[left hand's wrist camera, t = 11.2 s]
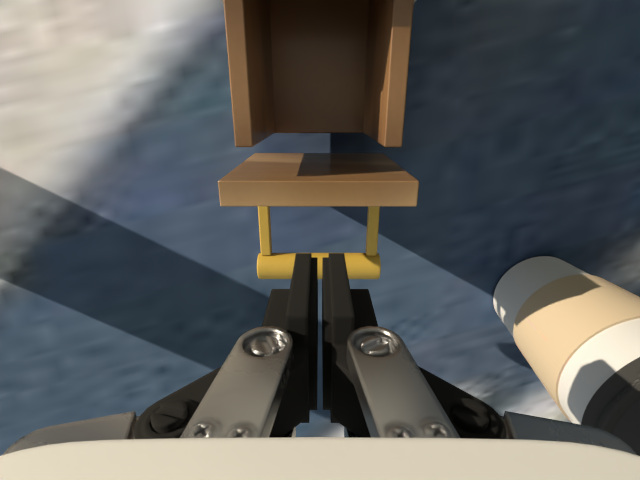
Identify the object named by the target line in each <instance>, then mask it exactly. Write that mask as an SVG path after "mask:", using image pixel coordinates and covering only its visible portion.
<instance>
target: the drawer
mask: <svg viewBox="0 0 640 480" xmlns="http://www.w3.org/2000/svg"><path fill="white" fill-rule="evenodd" d="M223 2H224V14H225V26H226V38H227V51H228V63H229V75H230V87H231V100H232V112H233V124H234V136H235V146H236V147H253V146H254V145H256V144H258V143H259V142H261V141H262V140H264V139H265V138H267V137H269V136H270V135H272V134H273V133H364V134H366V135H367V136H369V137H370V138H372V139H374V140H375V141H377V142H378V143H380V144H381V145H383V146H384V147H402V140H403V128H404V116H405V103H406V91H407V79H408V67H409V54H410V42H411V30H412V17H413V5H414V0H223ZM218 187H219V197H220V205H221V206H258V215H259V231H260V247H261V253H259V255H258V259H257V274H258V278H259V279H292V274H293V268H294V261H295V255H296V253H272V241H271V222H270V206H368V217H367V237H366V253H344V255H345V261H346V268H347V274H348V279H379V277H380V270H381V263H380V256H379V254H378V253H377V242H378V226H379V210H380V207H416V206H417V199H418V189H419V181H418V180H417V179H415V178H414V177H413V176H412V175H410V174H409V173H408V172H406V171H405V170H404V169H403V168H401V167H400V166H399V165H397V164H396V163H395V162H394V161H392V160H391V159H390V158H388V157H387V156H386V155H385V154H383V153H255V154H253V155H252V156H251V157H249V158H248V159H247V160H245V161H244V162H243V163H241V164H240V165H239V166H238V167H236V168H235V169H234V170H232V171H231V172H230V173H228V174H227V175H226V176H224V177H223V178H222V179H220V180H219V181H218ZM311 255H312V257H317V258H318V279H322V258H323V257H328V255H329V253H311Z"/></svg>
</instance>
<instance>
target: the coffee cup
mask: <svg viewBox="0 0 640 480" xmlns="http://www.w3.org/2000/svg"><path fill="white" fill-rule="evenodd" d="M493 303H494V308H495V310H496V312H497V314H498V316H499V317H500V319H501V320H502V321H503V323H504V324H505V326H506V327H507V329H508V330H509V332H510V333H511V334H512V336H513V337H514V339H515V342H516V345H517V347H518V348H519V350H520V351H521V353H522V354H523V355H524V357H525V358H526V360H527V361H528V363H529V364H530V366H531V367H532V369H533V370H534V372H535V373H536V375H537V376H538V378H539V379H540V381H541V382H542V383H543V385H544V386H545V388H546V389H547V391H548V392H549V394H550V395H551V397H552V398H553V400H554V401H555V403H556V404H557V406H558V407H559V409H560V410H561V411H562V413H563V414H564V415H565V416H566V417H567V418H568V419H569V420H570V421H571V422H572V423H574V424H580V425H586V426H591V427H595V428H598V429H601V430H605V431H607V432H609V433H610V434H612V435H614V436H616V437H618V438H619V439H621V440H622V441H623V442H625V443H626V444H627V445H629V446H630V447H631V448H632V449H633V450H634V452H635V453H636V454H637V455H638V456H640V297H639V296H637V295H635V294H633V293H631V292H629V291H627V290H625V289H623V288H621V287H619V286H617V285H615V284H613V283H611V282H609V281H607V280H605V279H603V278H600V277H597V276H593V275H590V274H588V273H586V272H584V271H582V270H580V269H578V268H576V267H575V266H573V265H571V264H569V263H567V262H565V261H563V260H561V259H558V258H555V257H550V256H539V257H533V258H530V259H527V260H524V261H522V262H520V263H518V264H516V265H515V266H513V267H512V268H511V269H509V270H508V271H507V272H506V273H505V274H504V275H503V277H502V278H501V279H500V281H499V282H498V284H497V286H496V289H495V292H494V297H493Z"/></svg>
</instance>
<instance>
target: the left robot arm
mask: <svg viewBox="0 0 640 480" xmlns="http://www.w3.org/2000/svg"><path fill="white" fill-rule="evenodd" d="M317 352H318V258H317V257H312V255H311V253H296V255H295V261H294V268H293V274H292V280H291V286H290V289H272V290H271V294H270V298H269V301H268V305H267V309H266V313H265V317H264V321H263V324H262V327H257V328H254V329H251V330H249V331H247V332H246V333H244V334H243V335H241V337H240V338H239V339H238V340H237V342H236V344H235V345H234V347H233V349H232V350H231V352H230V354H229V355H228V357H227V359H226V360H225V362H224V364H223V365H222V366H221V367H220V368H218V369H216V370H214V371H212V372H210V373H209V374H207V375H205V376H203V377H201V378H199V379H198V380H196V381H194V382H192V383H190V384H189V385H187V386H185V387H183V388H181V389H179V390H178V391H176V392H174V393H172V394H170V395H168V396H167V397H165V398H163V399H161V400H159V401H157V402H156V403H154V404H153V405H151V406H150V407H149V408H147V409H146V410H145V411H144V412H143V413H142V414H141V415H140V416H137V417H136V413H135V411H133V412H127V413H122V414H116V415H110V416H105V417H99V418H94V419H88V420H82V421H77V422H71V423H66V424H60V425H54V426H49V427H45V428H42V429H39V430H35V431H33V432H31V433H30V434H28V435H26V436H24V437H22V438H21V439H19V440H18V441H17V442H15V443H14V444H13V445H11V446H10V447H9V448H8V449H7V450H6V452H5V453H4V454H3V455H2V456H0V480H640V456H638V455H637V454H636V453H635V452H634V450H633V449H632V448H631V447H630V446H629V445H627V444H626V443H625V442H623V441H622V440H621V439H619V438H618V437H616V436H614V435H612V434H610V433H609V432H607V431H605V430H601V429H598V428H595V427H591V426H586V425H580V424H574V423H569V422H563V421H558V420H552V419H546V418H541V417H535V416H530V415H524V414H518V413H513V412H507V411H505V413H504V417H503V416H500V415H499V414H498V413H497V412H496V411H495V410H494V409H493V408H491V407H490V406H489V405H487V404H486V403H484V402H483V401H481V400H479V399H477V398H475V397H473V396H472V395H470V394H468V393H466V392H464V391H462V390H461V389H459V388H457V387H455V386H453V385H451V384H450V383H448V382H446V381H444V380H442V379H441V378H439V377H437V376H435V375H433V374H431V373H430V372H428V371H426V370H424V369H422V368H420V367H419V366H418V365H417V364H416V362H415V360H414V359H413V357H412V355H411V354H410V352H409V350H408V349H407V347H406V345H405V344H404V342H403V340H402V339H401V338H400V337H399V335H397V334H396V333H394V332H393V331H391V330H389V329H386V328H383V327H378V324H377V321H376V317H375V313H374V309H373V305H372V301H371V298H370V294H369V291H368V289H350V286H349V280H348V274H347V268H346V261H345V255H344V253H329V255H328V257H323V258H322V352H323V410H330V411H331V423H340V424H342V425H343V426H344V436H345V438H342V437H298V438H295V436H296V426H297V425H298V424H300V423H309V411H310V410H317Z"/></svg>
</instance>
